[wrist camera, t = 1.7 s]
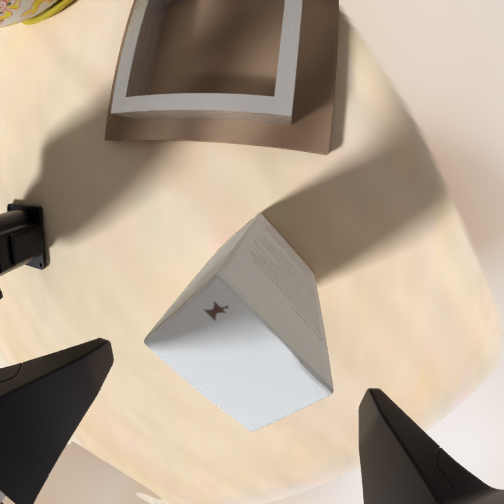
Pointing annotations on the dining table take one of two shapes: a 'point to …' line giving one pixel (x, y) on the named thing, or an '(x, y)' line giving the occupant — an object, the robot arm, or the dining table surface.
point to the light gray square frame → (199, 104)
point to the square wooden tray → (239, 72)
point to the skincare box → (249, 330)
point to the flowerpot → (29, 10)
